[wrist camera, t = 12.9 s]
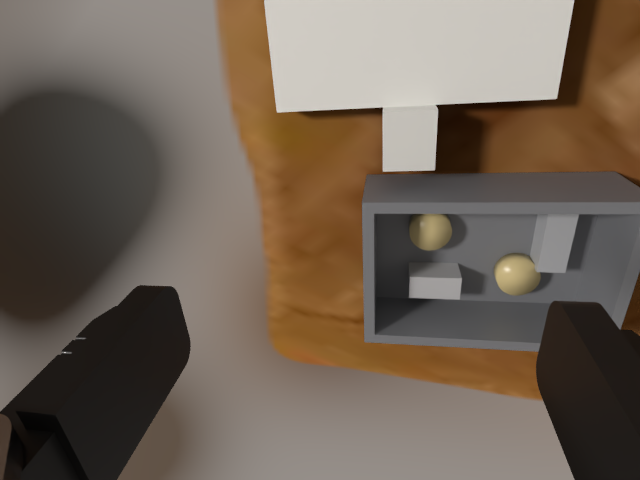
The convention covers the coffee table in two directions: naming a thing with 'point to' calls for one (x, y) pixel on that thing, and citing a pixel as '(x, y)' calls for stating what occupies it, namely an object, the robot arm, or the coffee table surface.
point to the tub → (493, 254)
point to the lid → (414, 60)
